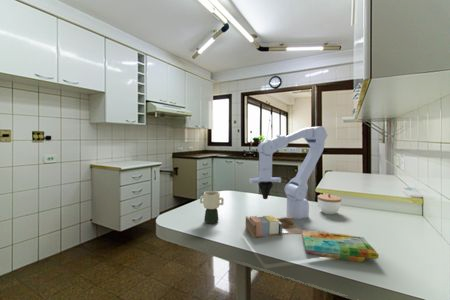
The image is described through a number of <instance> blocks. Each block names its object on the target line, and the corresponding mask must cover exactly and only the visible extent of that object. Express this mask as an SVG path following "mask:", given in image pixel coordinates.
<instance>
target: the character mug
mask: <svg viewBox="0 0 450 300" xmlns="http://www.w3.org/2000/svg"><path fill="white" fill-rule="evenodd" d="M220 200H221V202H220ZM224 200H225V199H224V197H221V196H220V192H219V191H215V190H210V191H209V190H207V191H204V192H203V195H200V197H199V203H200V204H202V205H203V208H204V209H205V213H204V222H205V223H206V224H214V223H218V222H219V211H218V208H219V207H220V206H224V203H225V202H224Z"/></svg>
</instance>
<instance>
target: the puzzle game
mask: <svg viewBox="0 0 450 300" xmlns="http://www.w3.org/2000/svg"><path fill="white" fill-rule="evenodd" d="M301 230H302V229H301ZM301 238H302V242H303V246H304V249H305V251H306V253H307V254H308V255H309V254H310V255H316V256H321V258H326V259H327V258H328V259H335V260H343V261H351V262H358V263H359V262H360V263H362V262H364V261H365V259H373V260H377V259H379V253H378V252H377V251H376V250H375V249H374V247H372V245H371V244H370V243H369V241H368V240H367V239H366V238H365V237H364V236H361V235H360V236H359V235H353V234H351V235H350V234H342V233H333V232H326V231H315V230H305V229H303V230H302V233H301Z"/></svg>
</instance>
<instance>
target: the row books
mask: <svg viewBox="0 0 450 300" xmlns="http://www.w3.org/2000/svg"><path fill="white" fill-rule="evenodd" d="M249 218H250V219H251V220H252V221H253V222H254V223H255V224H256V237H258V236H268V235H269V222H268V221H267V220H266V219H265V218H264V217H263V216H258V215H252V216H249Z"/></svg>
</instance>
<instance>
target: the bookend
mask: <svg viewBox="0 0 450 300" xmlns="http://www.w3.org/2000/svg"><path fill="white" fill-rule="evenodd" d="M279 234H289V232H287V231H286V230H285V229H284V228H282V223H281V222H279Z"/></svg>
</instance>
